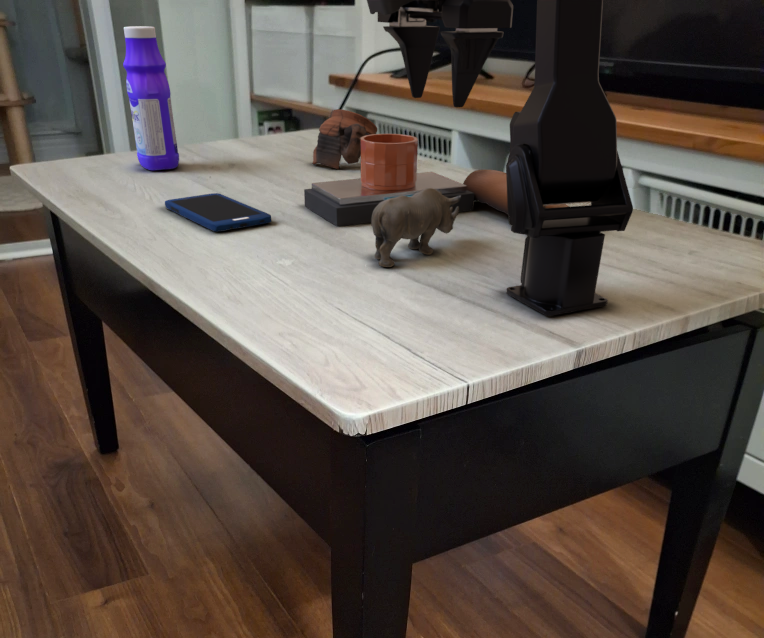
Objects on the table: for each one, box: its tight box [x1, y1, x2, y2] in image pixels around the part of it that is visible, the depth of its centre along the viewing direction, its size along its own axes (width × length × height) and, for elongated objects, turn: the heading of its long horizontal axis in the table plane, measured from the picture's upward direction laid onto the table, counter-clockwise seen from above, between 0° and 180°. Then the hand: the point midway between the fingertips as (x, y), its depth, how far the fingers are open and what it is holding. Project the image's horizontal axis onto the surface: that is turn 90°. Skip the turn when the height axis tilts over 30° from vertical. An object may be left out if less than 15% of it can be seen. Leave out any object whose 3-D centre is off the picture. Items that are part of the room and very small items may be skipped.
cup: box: [360, 133, 419, 191], centre depth 90 cm, size 7×7×5 cm
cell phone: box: [164, 192, 272, 233], centre depth 89 cm, size 7×14×1 cm, turn 37°
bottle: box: [122, 25, 180, 171], centre depth 106 cm, size 7×6×17 cm
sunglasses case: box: [462, 169, 571, 215], centre depth 89 cm, size 18×7×7 cm
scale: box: [303, 171, 475, 227], centre depth 92 cm, size 10×18×3 cm, turn 116°
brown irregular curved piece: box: [312, 108, 378, 170], centre depth 113 cm, size 12×10×8 cm
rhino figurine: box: [371, 188, 461, 268], centre depth 77 cm, size 4×14×6 cm, turn 139°
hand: (436, 102), depth 85 cm, fingers open, 9 cm apart
